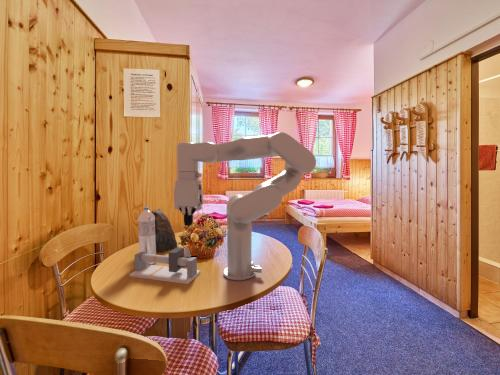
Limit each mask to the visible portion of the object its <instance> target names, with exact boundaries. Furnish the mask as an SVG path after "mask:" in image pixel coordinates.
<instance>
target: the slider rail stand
mask: <svg viewBox="0 0 500 375" xmlns="http://www.w3.org/2000/svg"><path fill="white" fill-rule="evenodd" d="M197 260H198V258H197V257H184V258H182V257H179V258H177V261H178V265H180V266H184V267H186V268H184V267H183V268H181V269H180V270H179V271H177V272H169V266H165V265H169V255H161V254H156V255H153V254H145V252H140V253H139V252H138V253H135V254H134V271H132V272H130V273H129V277H131V278H140V279H146V280H153V281H162V282H163V281H164V282H169V283H176V284H185V285H189V284H190V283H191V282H192V281H193V280H195V279H196V277H198V276H199V275H200V274H201V270H200V269H199V270H198V267H197V266H198V264H197V263H198V261H197ZM146 262H153V263H155V264H153V265H149V264H146ZM156 264H163V265H156Z"/></svg>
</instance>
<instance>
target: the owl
mask: <svg viewBox="0 0 500 375" xmlns="http://www.w3.org/2000/svg"><path fill="white" fill-rule="evenodd" d="M151 212H152V213H153V214H154V216H155V234H156V235H155V236H156V253H159V254H160V253H161V254H162V253H164V252H168V251H171V250H173V249H175V248H177V247H178V241H177V239H176V235H175V231H174V230H173V228H172V227H173V226H172V225H171V221H170V220H169V217H168V216H167V215H166V213H165V212H164V211H163V210H161V208H158V209H154V210H152V211H151Z"/></svg>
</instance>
